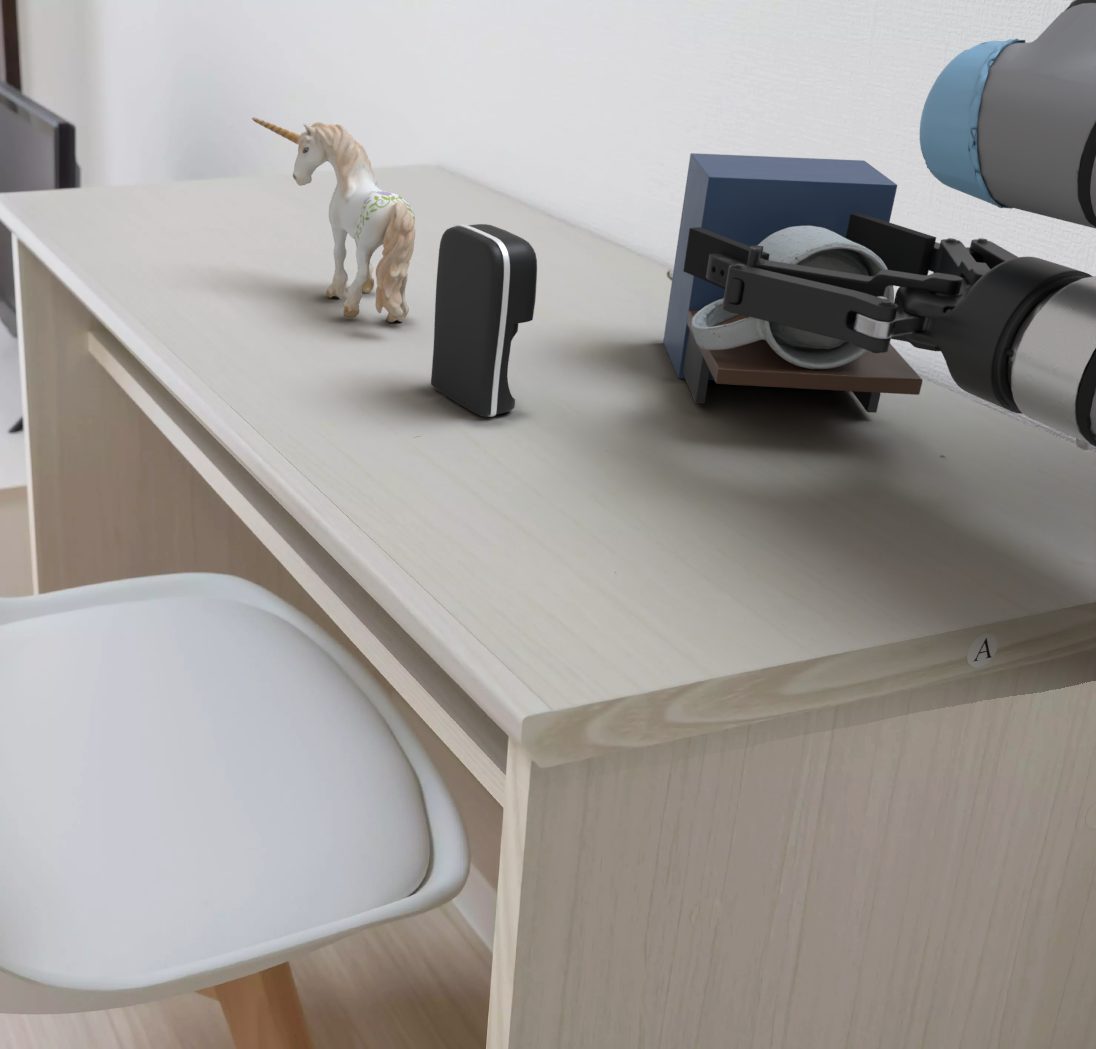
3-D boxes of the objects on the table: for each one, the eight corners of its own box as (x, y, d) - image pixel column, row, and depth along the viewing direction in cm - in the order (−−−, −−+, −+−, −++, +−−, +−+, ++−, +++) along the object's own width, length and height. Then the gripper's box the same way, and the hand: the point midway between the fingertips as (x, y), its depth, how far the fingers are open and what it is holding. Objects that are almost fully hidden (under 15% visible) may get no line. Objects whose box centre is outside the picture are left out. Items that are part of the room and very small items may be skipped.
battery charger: (532, 414, 87) (550, 240, 82) (482, 422, 86) (498, 245, 81) (474, 379, 93) (487, 214, 88) (426, 387, 91) (437, 219, 86)
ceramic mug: (837, 329, 88) (858, 212, 85) (882, 371, 81) (908, 245, 78) (675, 327, 88) (690, 211, 85) (705, 370, 81) (723, 244, 78)
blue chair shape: (826, 351, 100) (864, 160, 94) (905, 456, 82) (959, 229, 76) (662, 342, 101) (690, 153, 95) (705, 444, 83) (743, 220, 77)
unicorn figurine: (320, 268, 117) (324, 110, 111) (464, 328, 103) (478, 150, 97) (250, 279, 114) (250, 116, 108) (390, 343, 99) (399, 160, 93)
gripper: (855, 448, 65) (604, 317, 83) (1203, 390, 73) (907, 282, 91) (888, 296, 61) (619, 194, 79) (1249, 254, 70) (932, 170, 88)
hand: (772, 241), depth 85 cm, fingers open, 12 cm apart
